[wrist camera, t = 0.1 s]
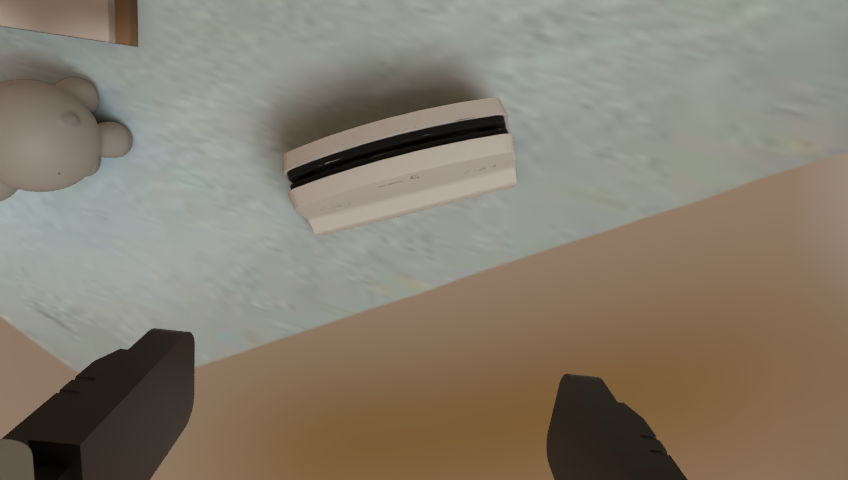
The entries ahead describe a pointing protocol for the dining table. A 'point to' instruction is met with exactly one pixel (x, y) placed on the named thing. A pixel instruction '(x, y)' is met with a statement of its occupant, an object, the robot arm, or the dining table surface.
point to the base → (75, 18)
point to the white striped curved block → (402, 165)
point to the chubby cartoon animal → (53, 135)
